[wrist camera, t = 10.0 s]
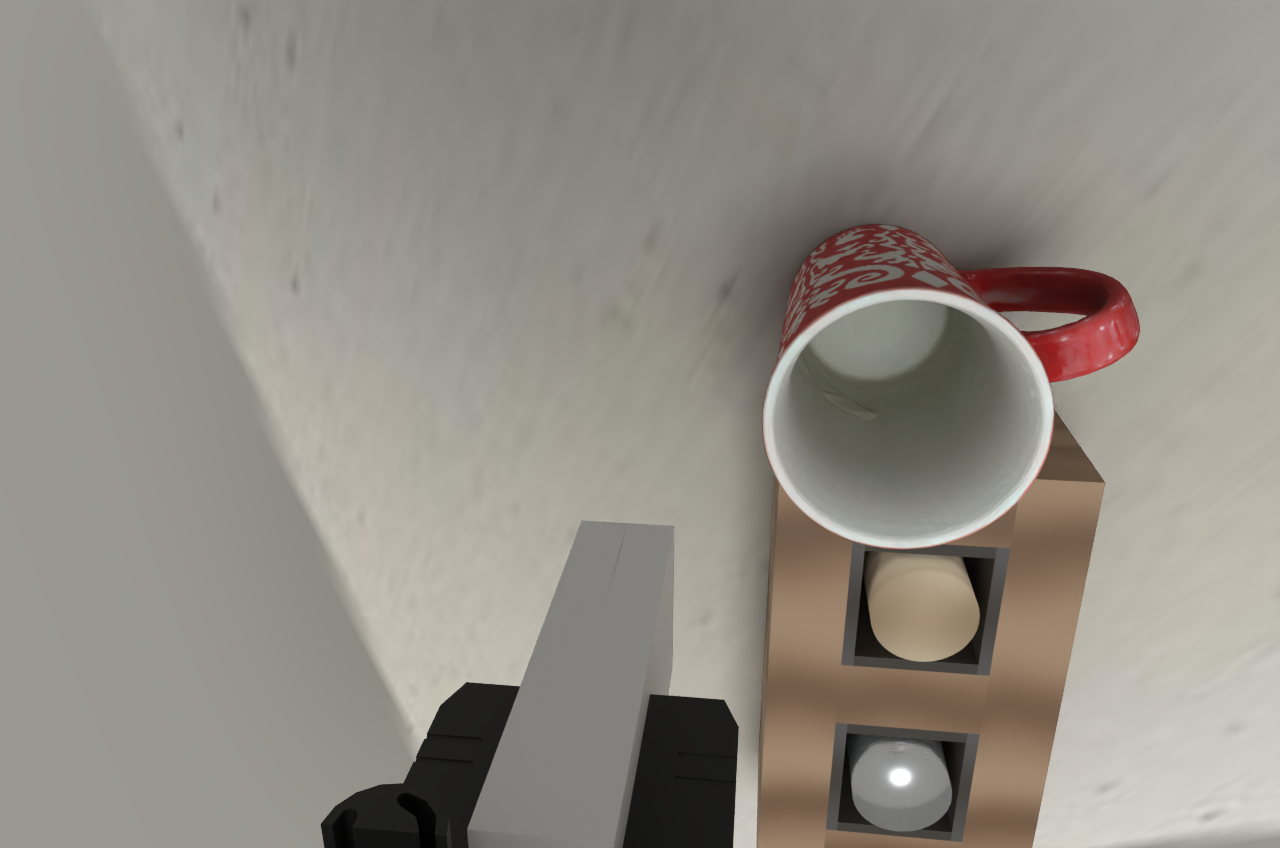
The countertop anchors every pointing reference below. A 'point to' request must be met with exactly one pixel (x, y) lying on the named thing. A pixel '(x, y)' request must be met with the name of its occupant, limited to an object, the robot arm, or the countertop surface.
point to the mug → (925, 384)
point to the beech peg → (920, 604)
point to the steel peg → (898, 781)
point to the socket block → (924, 670)
